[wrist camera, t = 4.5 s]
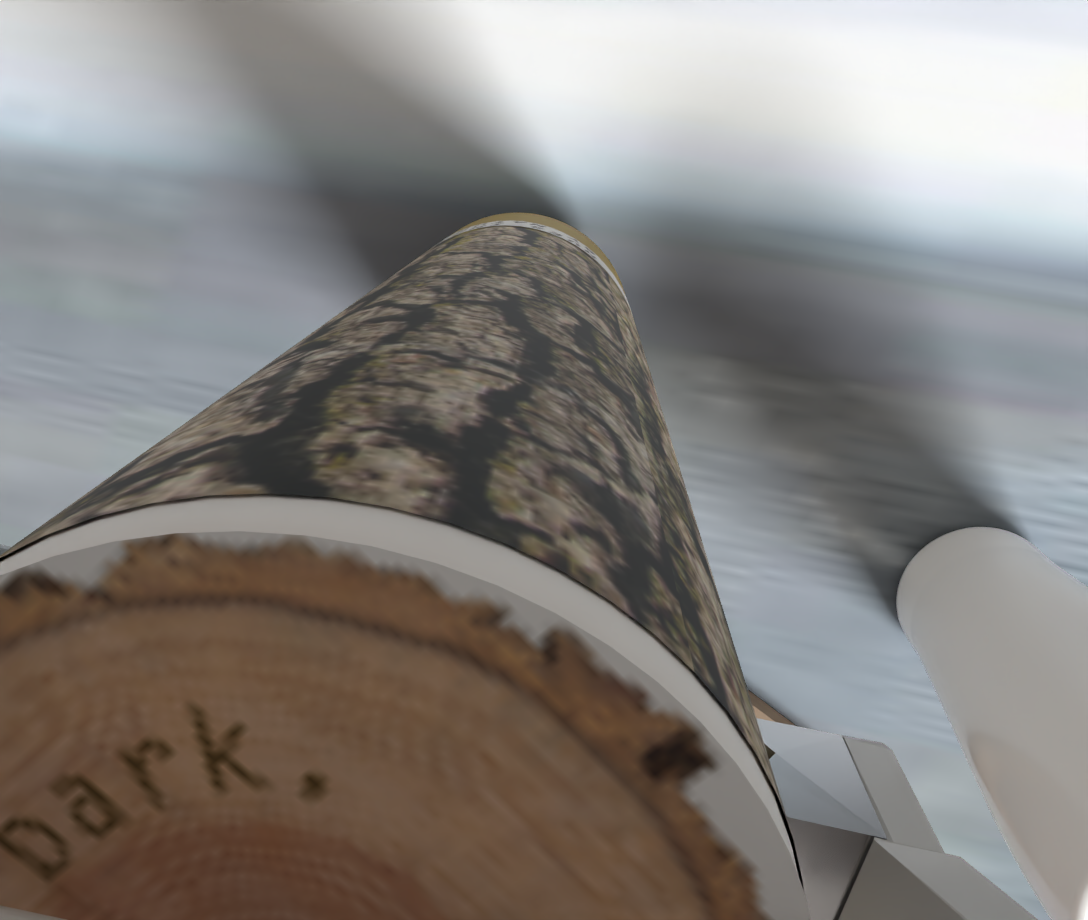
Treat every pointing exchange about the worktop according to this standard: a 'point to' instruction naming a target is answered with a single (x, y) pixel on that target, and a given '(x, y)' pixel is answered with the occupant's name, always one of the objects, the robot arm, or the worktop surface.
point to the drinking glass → (1012, 693)
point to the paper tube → (395, 635)
